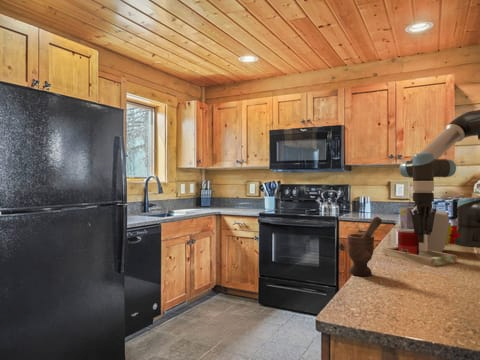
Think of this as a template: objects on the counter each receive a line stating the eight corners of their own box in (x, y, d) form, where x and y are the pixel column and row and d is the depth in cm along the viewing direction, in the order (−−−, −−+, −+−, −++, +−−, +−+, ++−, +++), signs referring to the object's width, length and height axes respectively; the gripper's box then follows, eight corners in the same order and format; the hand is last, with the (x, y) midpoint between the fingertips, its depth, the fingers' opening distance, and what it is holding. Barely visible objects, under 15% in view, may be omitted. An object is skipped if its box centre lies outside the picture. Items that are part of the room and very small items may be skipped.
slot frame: (407, 251, 155) (407, 245, 155) (456, 261, 136) (456, 254, 136) (383, 254, 149) (383, 248, 149) (431, 266, 129) (431, 258, 129)
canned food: (422, 258, 142) (422, 231, 142) (401, 257, 143) (401, 231, 143) (415, 254, 149) (414, 228, 150) (395, 254, 150) (395, 228, 150)
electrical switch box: (454, 261, 145) (463, 214, 144) (415, 252, 153) (422, 207, 151) (455, 255, 158) (462, 211, 156) (418, 247, 165) (425, 205, 164)
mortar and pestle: (386, 274, 118) (386, 215, 118) (380, 280, 111) (380, 217, 111) (351, 269, 125) (351, 213, 125) (344, 275, 117) (344, 215, 117)
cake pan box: (420, 237, 194) (420, 205, 194) (429, 238, 190) (429, 206, 190) (399, 240, 184) (399, 207, 184) (408, 242, 180) (408, 207, 180)
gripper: (425, 191, 146) (426, 247, 146) (403, 191, 141) (403, 250, 141) (442, 191, 140) (442, 251, 139) (420, 192, 134) (420, 253, 134)
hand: (423, 250), depth 140 cm, fingers closed
